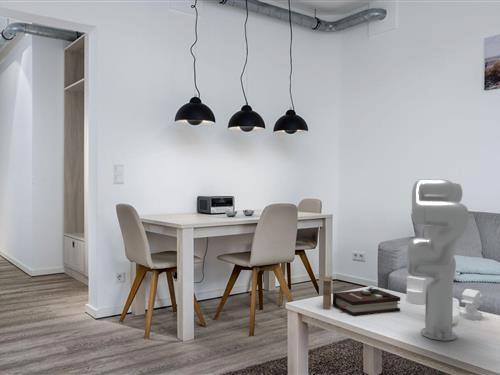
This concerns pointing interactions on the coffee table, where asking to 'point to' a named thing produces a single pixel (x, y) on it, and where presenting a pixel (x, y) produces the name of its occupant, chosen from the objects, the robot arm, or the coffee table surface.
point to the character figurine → (471, 304)
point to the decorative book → (366, 302)
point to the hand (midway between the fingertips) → (435, 256)
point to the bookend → (327, 292)
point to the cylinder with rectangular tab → (416, 290)
